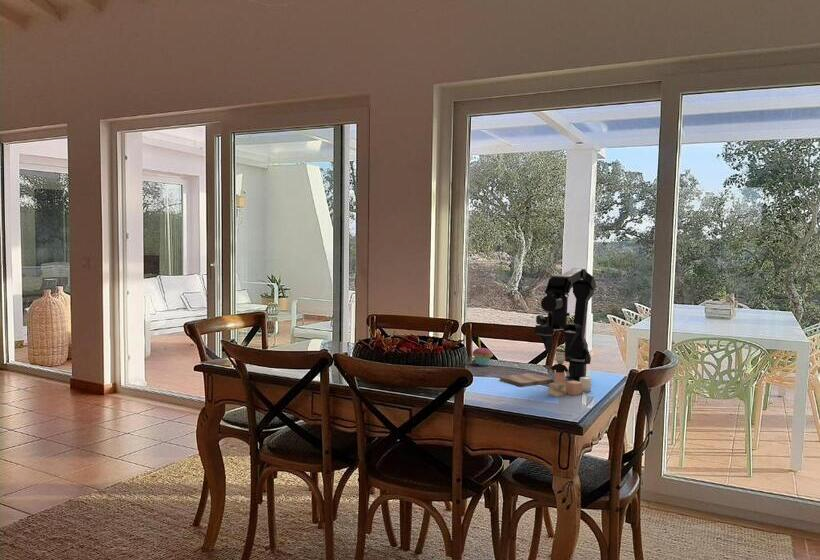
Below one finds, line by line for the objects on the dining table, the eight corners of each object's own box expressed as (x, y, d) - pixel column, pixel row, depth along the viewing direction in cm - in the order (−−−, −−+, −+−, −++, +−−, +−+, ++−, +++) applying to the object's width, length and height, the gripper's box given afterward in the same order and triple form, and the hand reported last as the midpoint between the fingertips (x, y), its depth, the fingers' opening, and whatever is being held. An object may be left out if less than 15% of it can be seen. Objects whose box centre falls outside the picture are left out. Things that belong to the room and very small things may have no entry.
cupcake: (471, 365, 275) (472, 337, 274) (472, 361, 283) (473, 334, 283) (492, 366, 274) (492, 338, 273) (492, 363, 282) (493, 335, 281)
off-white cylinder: (584, 388, 238) (585, 376, 238) (593, 390, 235) (593, 378, 234) (577, 389, 236) (577, 377, 236) (585, 392, 233) (585, 379, 232)
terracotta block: (573, 391, 233) (573, 380, 233) (581, 393, 230) (582, 382, 230) (565, 392, 231) (565, 381, 231) (573, 395, 228) (574, 383, 228)
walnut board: (531, 375, 257) (531, 372, 257) (553, 382, 247) (553, 378, 247) (500, 380, 249) (500, 376, 249) (521, 386, 239) (521, 383, 239)
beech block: (557, 393, 231) (557, 381, 230) (565, 395, 227) (565, 384, 227) (548, 394, 228) (549, 383, 228) (557, 396, 225) (557, 385, 225)
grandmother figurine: (570, 389, 237) (572, 354, 236) (568, 391, 233) (570, 356, 232) (549, 386, 240) (550, 352, 239) (547, 388, 236) (548, 354, 236)
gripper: (562, 306, 247) (560, 347, 248) (524, 308, 238) (523, 350, 239) (584, 309, 238) (582, 352, 239) (545, 311, 228) (544, 355, 229)
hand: (557, 352), depth 237 cm, fingers open, 9 cm apart
